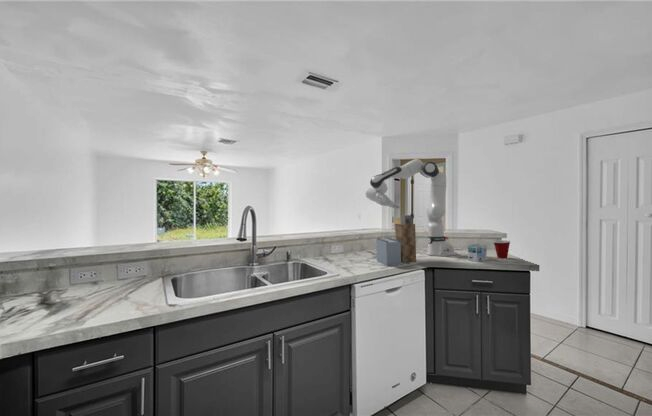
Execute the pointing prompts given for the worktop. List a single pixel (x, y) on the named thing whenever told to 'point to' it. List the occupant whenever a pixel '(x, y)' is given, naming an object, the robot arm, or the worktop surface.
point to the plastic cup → (502, 248)
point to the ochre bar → (403, 219)
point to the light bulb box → (477, 252)
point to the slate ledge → (388, 251)
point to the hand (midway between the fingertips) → (396, 206)
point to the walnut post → (406, 241)
